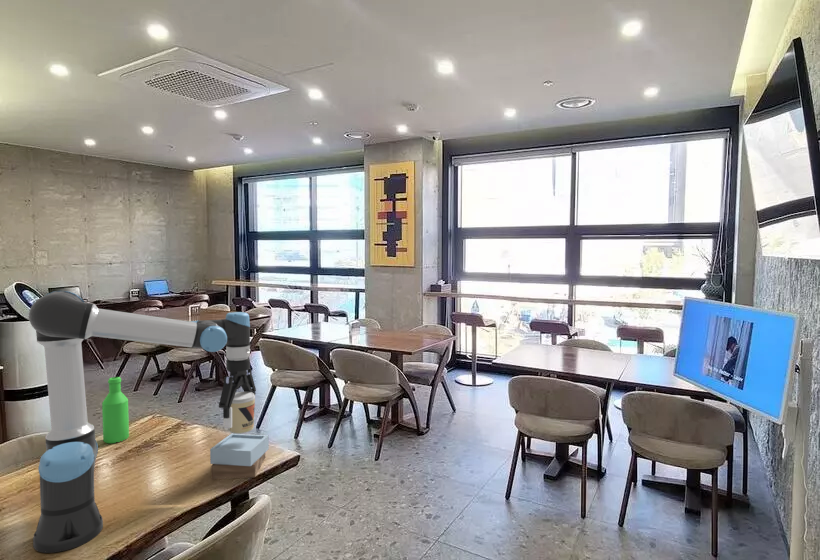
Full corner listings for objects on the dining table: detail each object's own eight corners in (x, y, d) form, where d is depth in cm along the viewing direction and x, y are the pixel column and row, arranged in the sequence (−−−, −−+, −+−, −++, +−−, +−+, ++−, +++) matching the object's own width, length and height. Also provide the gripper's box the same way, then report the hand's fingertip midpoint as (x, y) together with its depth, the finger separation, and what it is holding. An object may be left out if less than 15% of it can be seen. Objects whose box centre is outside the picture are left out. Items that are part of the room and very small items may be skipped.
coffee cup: (243, 436, 158) (242, 401, 157) (221, 432, 161) (220, 398, 160) (261, 426, 167) (260, 392, 166) (239, 422, 170) (238, 389, 169)
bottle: (127, 434, 195) (125, 374, 194) (131, 440, 188) (129, 378, 187) (101, 439, 189) (99, 377, 188) (104, 446, 183) (103, 382, 181)
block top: (250, 466, 155) (250, 451, 155) (210, 463, 157) (210, 448, 157) (268, 449, 169) (268, 435, 169) (231, 447, 171) (231, 433, 171)
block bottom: (255, 479, 156) (254, 464, 156) (211, 480, 156) (211, 465, 155) (265, 461, 170) (265, 447, 170) (225, 462, 170) (225, 448, 169)
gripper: (228, 366, 147) (229, 434, 148) (265, 351, 172) (265, 409, 173) (206, 365, 149) (207, 432, 150) (246, 350, 173) (246, 408, 174)
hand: (238, 420), depth 161 cm, fingers open, 13 cm apart
